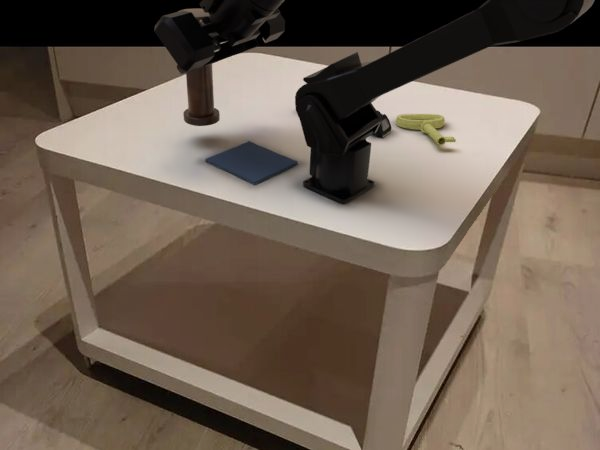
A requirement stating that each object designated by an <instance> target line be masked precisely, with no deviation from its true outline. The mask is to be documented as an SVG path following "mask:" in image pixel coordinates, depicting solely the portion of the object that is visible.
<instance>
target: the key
mask: <svg viewBox="0 0 600 450" xmlns="http://www.w3.org/2000/svg"><path fill="white" fill-rule="evenodd" d="M395 123H396V126H398V127H400V128H404V129H408V130H409V129H411V130H420V131H421V132H422V133H423V134H426V135H428V136H429V137H430V138H431V139H432V140H433V141H434V142H435V143H436V144H437V145H438V146H444V145H445V144H446V143H456V141H457V139H456V138H455V137H454V136H443V134H441V133H440V132H439V131H438V130H437V129H439V128H442V127H444V125H445V116H444V115H440V114H435V113H404V114H398V115H397V116H396V118H395Z"/></svg>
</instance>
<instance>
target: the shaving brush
mask: <svg viewBox="0 0 600 450" xmlns="http://www.w3.org/2000/svg"><path fill="white" fill-rule="evenodd" d="M179 11H188V12H192V13H193V15H194V16H195V18H196V19H197V21H198V22H199V24H200V25H201V23H200V20H201V19H202V18H205V17H209V16H210V15H209V13H208V12H207V13H205V12H204V10H203V9H202V8H184V9H180V10H178V11H177V12H179ZM201 26H202V25H201ZM185 77H186V78H185V79H186V92H187V106H188V107H187V108H186V109H184V111H183V115H182V116H183V121H184V123H185V124H188V125H191V126H195V127H206V126H207V127H208V126H212V125H214V124H215V125H216V124H218V122H220V119H221V118H220V117H221V115H220V110H219V109H217V108H216V107H215V98H214V97H215V95H214V73H213V63H212V64H210V65H207V66H204V67H201V68H199V69H196V70H193V71H190V72H187V73H185Z"/></svg>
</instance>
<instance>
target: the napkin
mask: <svg viewBox="0 0 600 450" xmlns="http://www.w3.org/2000/svg"><path fill="white" fill-rule="evenodd" d="M204 161H205V162H206V163H207V164H210V165H212V166H214V167H216V168H218V169H220V170H222V171H224V172H227V173H228V174H231V175H233V176H235V177H237V178H239V179H241V180H244V181H245V182H248V183H250V184H252V185H254V186H255V185H257V184H260V183H262V182H265V181H266V180H268V179H270V178H272V177H275V176H276V175H278V174H280V173H283V172H285V171H287V170H289V169H291V168H294V167H295V166H297V165H298V164H299V161H298V160H295V159H293V158H290V157H288V156H285V155H283V154H281V153H278V152H276V151H274V150H271V149H269V148H267V147H265V146H262V145H260V144H258V143H255V142H252V141H251V140H248V141H246V142H243V143H241V144H238V145H235V146H233V147H231V148H228V149H226V150H224V151H220V152H218V153H216V154H214V155H211V156H209V157H207V158H205V159H204Z"/></svg>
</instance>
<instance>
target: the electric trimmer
mask: <svg viewBox="0 0 600 450" xmlns="http://www.w3.org/2000/svg"><path fill="white" fill-rule="evenodd" d="M295 100H296V95H294V101H295ZM376 111H377V112H378V114H379V115H380V116H381V118H382V122H381V124H380V126H379V128H378V130H377V132H376V133H374V135H375V136H376V137H381V136H382V137H383V138H384V137H386V136H387V135H389V134H390V133H391V131H392V124H391V121H390V119H389V117H388V115H387V114H386V113H384V114H383V113H382V112H381V111H380V110H377V109H376Z"/></svg>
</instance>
